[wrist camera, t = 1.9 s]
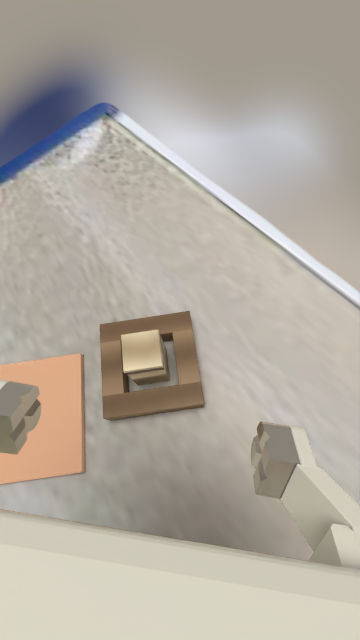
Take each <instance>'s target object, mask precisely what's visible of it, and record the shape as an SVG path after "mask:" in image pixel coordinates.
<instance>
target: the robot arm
mask: <svg viewBox="0 0 360 640" xmlns="http://www.w3.org/2000/svg"><path fill="white" fill-rule="evenodd" d="M39 395H40V392H39V387H37V386H34V385H29V384H23V383H18V382H13V381H6V380H0V453H8V454H15V455H17V454H18V453H19V451H20V450H21V448H22V447H23V445H24V444H25V442H26V441H27V433H28V432H30V431H32V430H33V429H34V428H35V427H36V425H37V423H38V421H39V419H40V416H41V409H42V408H41V403H40V402H39V401H38V399H37V398H38V396H39ZM257 433H258V435H257V436H256V437H254V439H253V443H252V448H251V462H252V465H253V467H254V468H255V469H256V470H255V473H254V476H253V478H254V485H255V493H256V494H258V495H263V496H268V497H273V498H278V499H280V501H281V502H282V504H283V505H284V507H285V508H286V510H287V511H288V513H289V514H290V516H291V517H292V519H293V520H294V522H295V523H296V525H297V526H298V528H299V529H300V531H301V532H302V534H303V535H304V537H305V538H306V540H307V542H308V543H309V545H310V546H311V548H312V549H313V551H314V554H313V555H312V557H311V558H310V560H309V561H305V560H299V559H293V558H288V557H282V556H276V555H270V554H264V553H258V552H252V551H246V550H240V549H234V548H228V547H222V546H216V545H211V544H205V543H199V542H193V541H187V540H181V539H175V538H169V537H163V536H157V535H151V534H145V533H139V532H133V531H127V530H121V529H115V528H110V527H104V526H98V525H92V524H86V523H80V522H74V521H68V520H62V519H56V518H50V517H45V516H39V515H33V514H27V513H21V512H15V511H9V510H3V509H0V640H360V506H359V505H358V504H357V503H356V502H355V501H354V500H353V499H352V498H351V497H350V496H349V495H348V494H347V493H346V492H345V491H344V490H343V489H342V488H341V487H340V486H339V485H338V484H337V483H336V482H335V481H334V480H333V479H332V478H331V477H330V476H329V475H328V474H327V473H326V472H325V471H324V470H323V469H322V468H318V467H317V464H316V462H315V459H314V456H313V453H312V450H311V447H310V444H309V441H308V438H307V435H306V432H305V430H304V429H303V428H301V427H294V426H287V425H280V424H274V423H267V422H260V423H259V425H258V427H257Z"/></svg>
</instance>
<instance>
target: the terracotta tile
mask: <svg viewBox="0 0 360 640" xmlns="http://www.w3.org/2000/svg"><path fill="white" fill-rule="evenodd" d="M0 380H6V381H13V382H18V383H23V384H29V385H34V386H37V387H39V392H40V395H39V396H38V398H37V399H38V401H39V402H40V403H41V408H42V409H41V416H40V419H39V421H38V423H37V425H36V427H35V428H34V429H33V430H32V431H30V432H28V433H27V441H26V442H25V444H24V445H23V447H22V448H21V450H20V451H19V453H18V454H17V455H15V454H8V453H0V484H5V483H12V482H19V481H26V480H33V479H40V478H47V477H54V476H61V475H68V474H75V473H82V472H85V426H84V363H83V355H82V354H81V353H80V354H74V355H67V356H60V357H54V358H47V359H40V360H34V361H27V362H20V363H14V364H7V365H0Z"/></svg>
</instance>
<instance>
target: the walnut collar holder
mask: <svg viewBox="0 0 360 640" xmlns="http://www.w3.org/2000/svg"><path fill="white" fill-rule="evenodd" d="M151 330H158V331H159V332H160V336H161V338H162V341H163V342H164V341H171V340H173V341H174V349H175V356H176V364H177V371H178V379H179V385H175V386H168V387H161V388H154V389H148V390H141V391H134V392H129V382H128V375H126V374H125V373H124V372H123V356H122V341H121V335H125V334H131V333H138V332H145V331H151ZM100 343H101V369H102V396H103V419H107V420H117V419H124V418H131V417H138V416H145V415H151V414H158V413H165V412H172V411H179V410H185V409H192V408H199V407H204V399H203V393H202V386H201V380H200V374H199V368H198V361H197V355H196V349H195V342H194V336H193V330H192V324H191V317H190V311H186V312H179V313H173V314H166V315H160V316H153V317H146V318H140V319H133V320H127V321H120V322H114V323H107V324H100Z"/></svg>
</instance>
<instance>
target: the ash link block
mask: <svg viewBox="0 0 360 640" xmlns="http://www.w3.org/2000/svg"><path fill="white" fill-rule="evenodd" d="M121 341H122V356H123V372H124V373H125V374H126V375H128V376H129V377H130V378H131V379H132V380H133V381H134V382H136V383H137V384H138V385H144V384H151V383H158V382H165V381H170V377H169V369H168V361H167V352H166V349H165V346H164V343H163V341H162V338H161V336H160V332H159V331H158V330H151V331H145V332H138V333H131V334H125V335H121Z"/></svg>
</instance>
